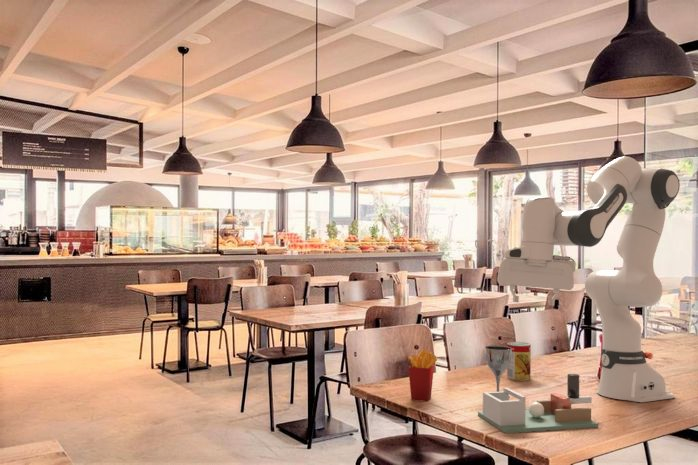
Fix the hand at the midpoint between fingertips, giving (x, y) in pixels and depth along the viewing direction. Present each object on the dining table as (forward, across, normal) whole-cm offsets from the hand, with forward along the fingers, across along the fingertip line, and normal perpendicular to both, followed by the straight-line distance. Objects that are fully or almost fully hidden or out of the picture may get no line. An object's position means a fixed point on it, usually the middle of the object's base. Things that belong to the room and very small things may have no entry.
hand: (533, 303), depth 169 cm
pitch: (+31, -2, +4) cm, 31 cm away
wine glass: (+30, +7, -21) cm, 37 cm away
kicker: (+28, -12, -1) cm, 31 cm away
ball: (+28, -2, +4) cm, 28 cm away
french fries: (+32, +28, -13) cm, 44 cm away
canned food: (+27, -1, -48) cm, 56 cm away
